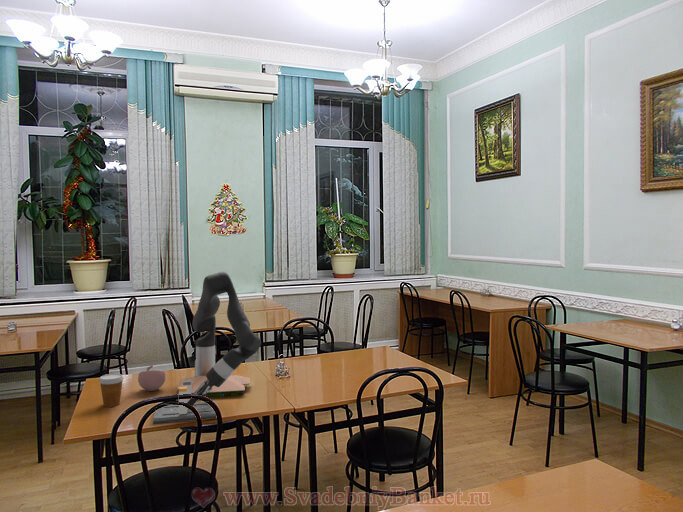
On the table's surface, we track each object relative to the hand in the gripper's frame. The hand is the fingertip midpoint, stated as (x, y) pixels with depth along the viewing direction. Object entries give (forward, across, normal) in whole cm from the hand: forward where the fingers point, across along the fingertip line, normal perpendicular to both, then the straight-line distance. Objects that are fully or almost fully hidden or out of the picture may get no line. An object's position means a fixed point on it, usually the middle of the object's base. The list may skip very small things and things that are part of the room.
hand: (188, 405), depth 200 cm
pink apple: (+16, +42, +9) cm, 46 cm away
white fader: (+3, +9, -2) cm, 10 cm away
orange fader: (+4, 0, -1) cm, 5 cm away
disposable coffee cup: (+27, +25, +19) cm, 41 cm away
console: (+4, +5, -3) cm, 7 cm away
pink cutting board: (-3, +35, -11) cm, 37 cm away
